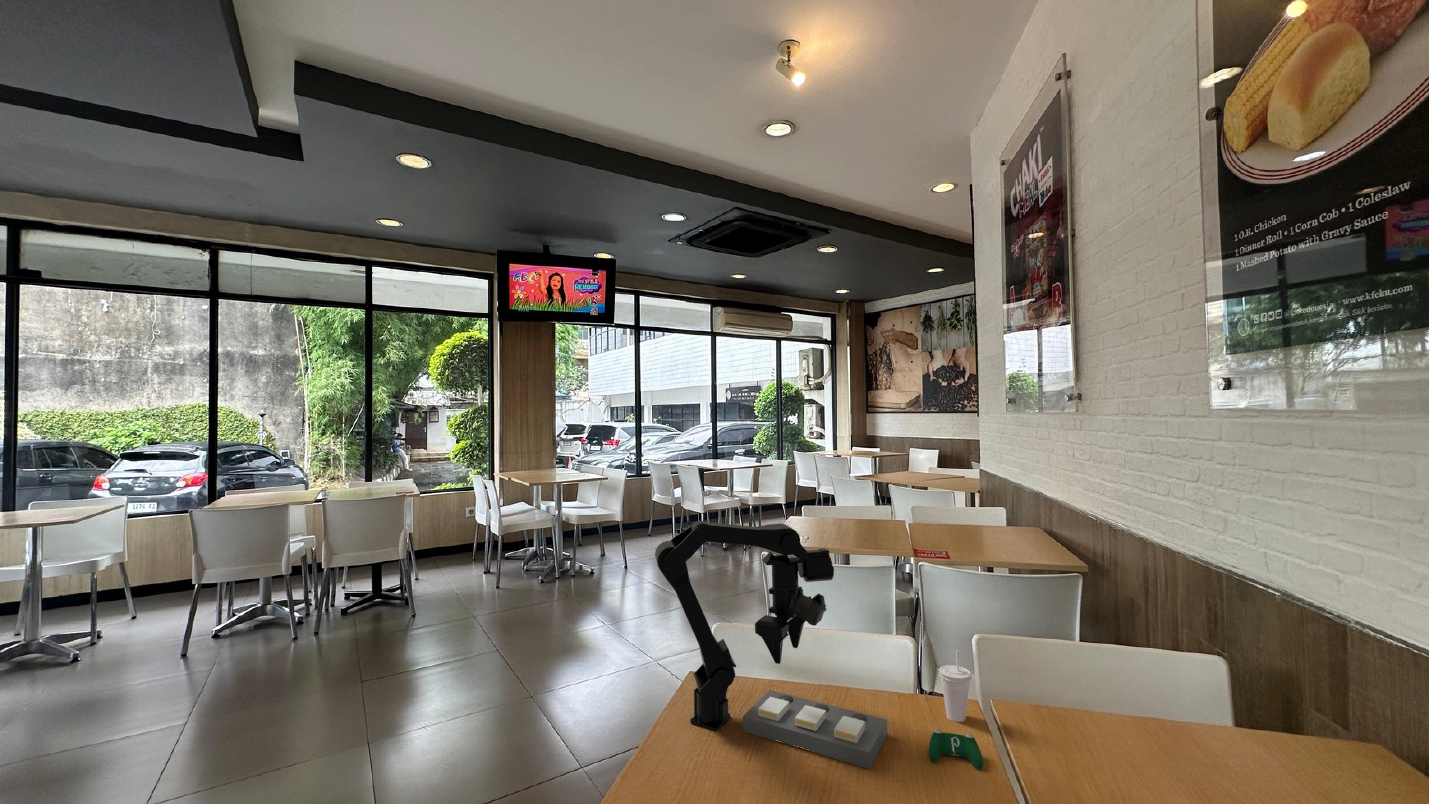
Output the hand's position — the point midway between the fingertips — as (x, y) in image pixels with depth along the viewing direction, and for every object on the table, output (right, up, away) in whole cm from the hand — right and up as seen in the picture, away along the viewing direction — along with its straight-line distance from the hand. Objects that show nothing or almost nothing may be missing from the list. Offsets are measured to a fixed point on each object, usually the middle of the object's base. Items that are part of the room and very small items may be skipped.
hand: (786, 655), depth 126 cm
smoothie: (+35, -12, -4) cm, 37 cm away
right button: (+10, -9, -14) cm, 20 cm away
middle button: (+3, -9, -10) cm, 14 cm away
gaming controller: (+29, -12, -18) cm, 36 cm away
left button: (-3, -9, -6) cm, 11 cm away
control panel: (+5, -12, -9) cm, 15 cm away
